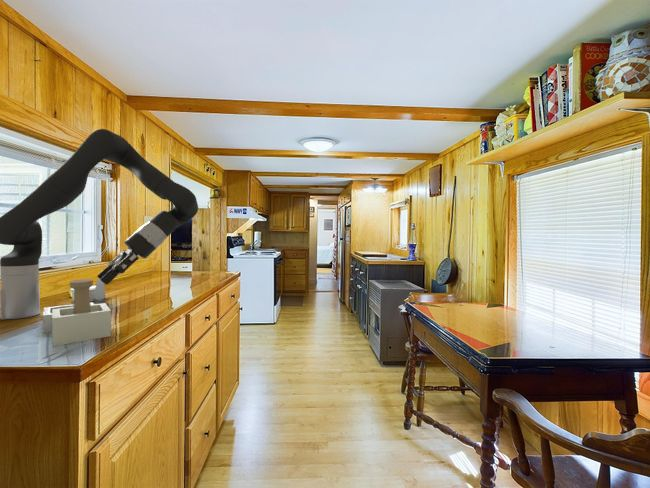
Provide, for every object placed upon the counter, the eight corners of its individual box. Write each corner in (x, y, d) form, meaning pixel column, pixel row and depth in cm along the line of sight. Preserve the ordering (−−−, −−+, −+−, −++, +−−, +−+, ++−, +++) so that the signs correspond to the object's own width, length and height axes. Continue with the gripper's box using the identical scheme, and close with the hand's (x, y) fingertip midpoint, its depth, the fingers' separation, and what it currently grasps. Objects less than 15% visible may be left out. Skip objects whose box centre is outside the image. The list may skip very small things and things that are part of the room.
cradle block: (52, 346, 77) (52, 318, 77) (52, 334, 86) (52, 309, 86) (111, 335, 85) (110, 310, 85) (105, 326, 94) (105, 303, 94)
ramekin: (90, 302, 125) (90, 290, 125) (63, 302, 125) (62, 289, 125) (110, 297, 136) (109, 285, 136) (84, 297, 136) (84, 285, 136)
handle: (94, 330, 90) (93, 278, 89) (93, 336, 84) (92, 281, 84) (72, 333, 87) (71, 280, 86) (70, 339, 82) (69, 283, 81)
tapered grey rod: (94, 337, 109) (93, 301, 104) (96, 299, 128) (95, 267, 123) (106, 335, 111) (105, 300, 106) (105, 298, 130) (105, 267, 125)
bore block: (43, 333, 87) (43, 315, 87) (44, 323, 96) (43, 307, 96) (96, 325, 95) (96, 308, 95) (92, 317, 104) (92, 302, 104)
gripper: (132, 231, 99) (87, 269, 91) (141, 230, 88) (91, 274, 81) (151, 247, 102) (109, 285, 95) (162, 249, 91) (116, 292, 84)
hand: (101, 280), depth 88 cm, fingers open, 8 cm apart
